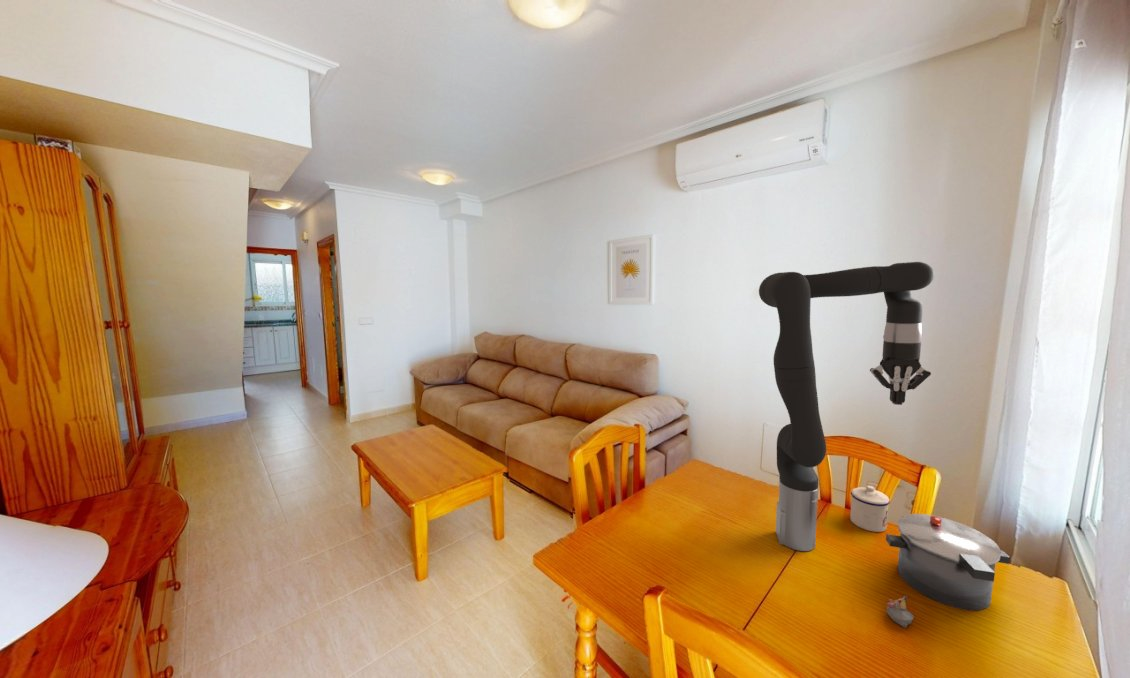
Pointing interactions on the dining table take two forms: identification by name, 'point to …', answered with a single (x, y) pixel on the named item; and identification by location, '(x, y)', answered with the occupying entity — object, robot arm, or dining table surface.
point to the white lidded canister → (869, 509)
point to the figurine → (899, 612)
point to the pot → (942, 576)
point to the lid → (952, 542)
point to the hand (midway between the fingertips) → (897, 403)
